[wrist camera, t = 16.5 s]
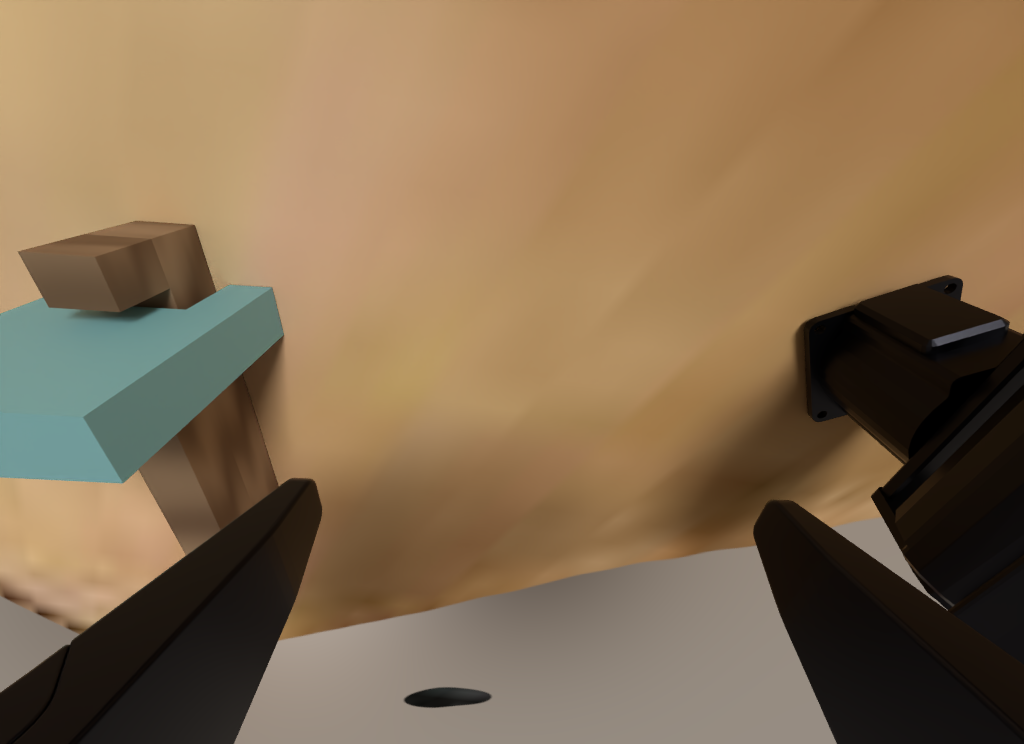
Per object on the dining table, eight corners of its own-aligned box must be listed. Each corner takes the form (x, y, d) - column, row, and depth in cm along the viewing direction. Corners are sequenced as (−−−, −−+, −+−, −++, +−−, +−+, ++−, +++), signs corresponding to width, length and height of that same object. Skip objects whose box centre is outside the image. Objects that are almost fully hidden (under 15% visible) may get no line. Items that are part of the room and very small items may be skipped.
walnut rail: (136, 220, 18) (17, 251, 14) (194, 225, 18) (94, 256, 14) (254, 523, 28) (207, 594, 24) (290, 524, 28) (250, 596, 24)
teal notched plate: (272, 287, 20) (82, 417, 11) (283, 334, 21) (122, 483, 12) (99, 276, 19) (-231, 399, 11) (122, 325, 21) (-156, 469, 12)
